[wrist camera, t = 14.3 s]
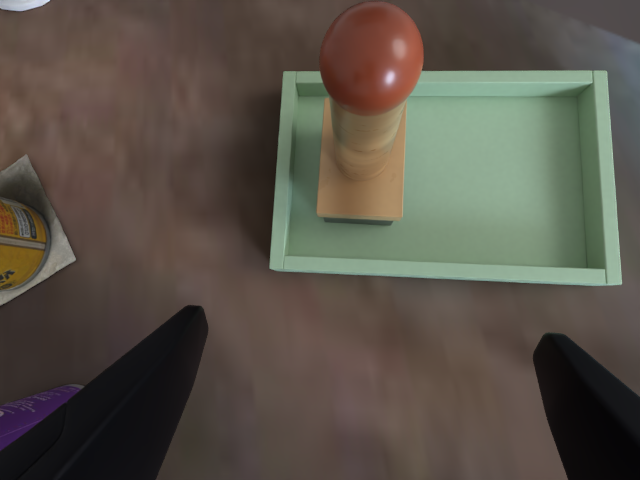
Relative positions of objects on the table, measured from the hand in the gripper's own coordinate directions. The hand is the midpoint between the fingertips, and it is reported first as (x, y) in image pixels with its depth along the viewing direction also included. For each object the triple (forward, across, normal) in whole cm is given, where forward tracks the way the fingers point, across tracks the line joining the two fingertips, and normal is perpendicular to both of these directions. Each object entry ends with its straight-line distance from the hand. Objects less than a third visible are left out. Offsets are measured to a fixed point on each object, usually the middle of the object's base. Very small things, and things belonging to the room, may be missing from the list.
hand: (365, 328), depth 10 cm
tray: (+14, -4, +2) cm, 15 cm away
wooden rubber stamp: (+14, 0, +2) cm, 14 cm away
